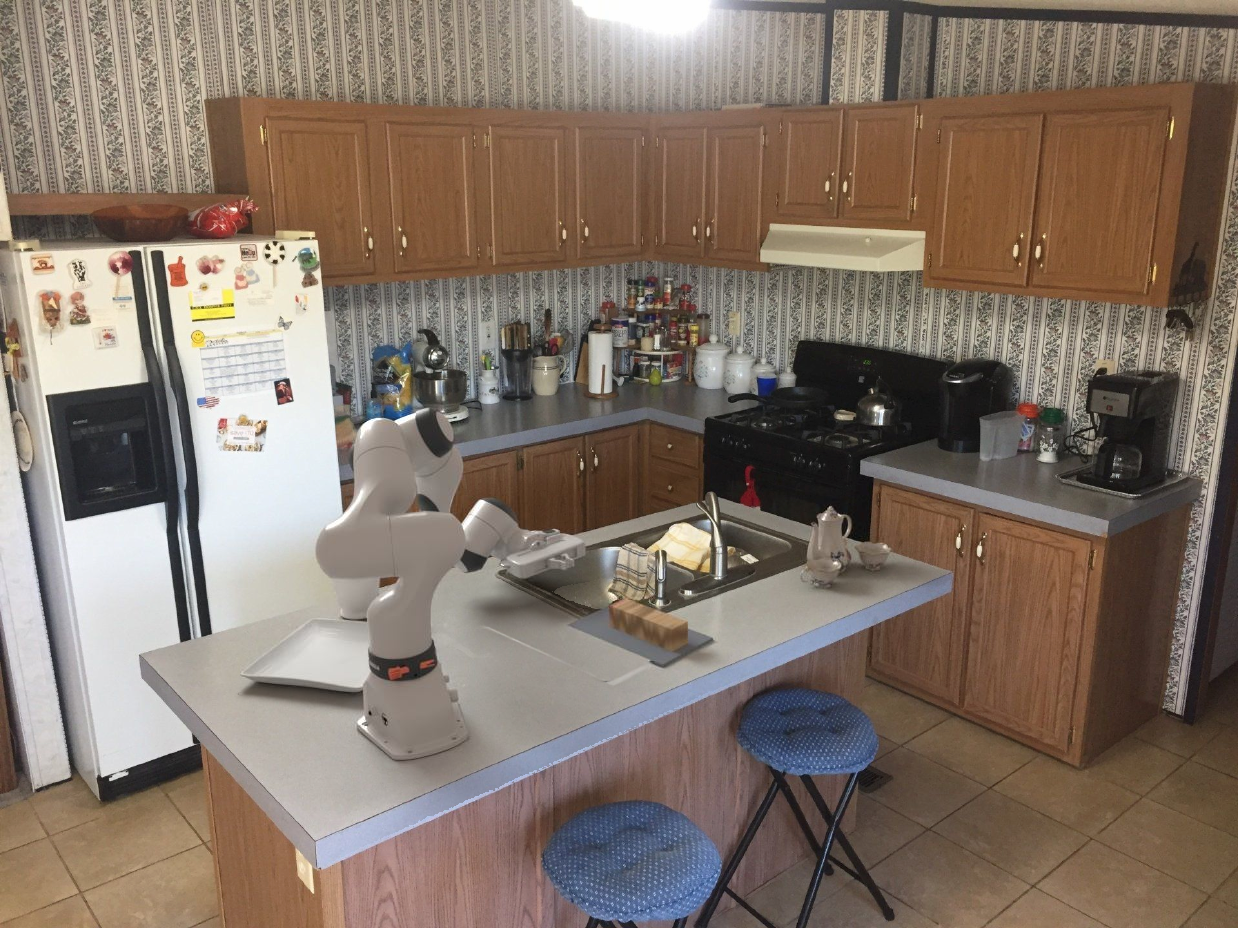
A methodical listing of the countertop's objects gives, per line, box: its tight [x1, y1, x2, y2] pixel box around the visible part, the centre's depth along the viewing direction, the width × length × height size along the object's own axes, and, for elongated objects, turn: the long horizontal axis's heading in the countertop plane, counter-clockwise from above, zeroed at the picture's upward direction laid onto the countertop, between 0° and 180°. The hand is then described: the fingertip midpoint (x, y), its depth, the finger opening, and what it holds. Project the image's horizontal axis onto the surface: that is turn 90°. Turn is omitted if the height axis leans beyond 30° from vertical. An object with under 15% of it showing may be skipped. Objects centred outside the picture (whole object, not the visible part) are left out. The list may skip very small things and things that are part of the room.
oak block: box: [608, 598, 689, 651], centre depth 216 cm, size 5×5×18 cm
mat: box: [567, 605, 714, 668], centre depth 219 cm, size 28×16×1 cm, turn 46°
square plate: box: [239, 617, 370, 693], centre depth 209 cm, size 27×27×4 cm
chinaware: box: [799, 505, 893, 589], centre depth 247 cm, size 28×17×17 cm, turn 130°
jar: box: [331, 578, 381, 621], centre depth 231 cm, size 11×10×15 cm
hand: (569, 565), depth 230 cm, fingers closed
